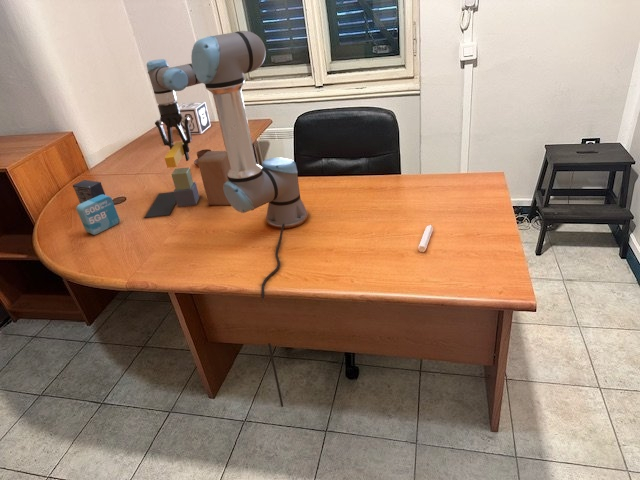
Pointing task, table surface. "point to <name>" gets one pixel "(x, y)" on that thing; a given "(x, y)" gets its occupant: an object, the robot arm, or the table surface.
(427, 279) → the table surface
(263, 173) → the robot arm
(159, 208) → the mat
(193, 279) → the table surface
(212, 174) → the block
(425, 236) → the marker
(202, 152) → the cup and saucer
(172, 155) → the bar
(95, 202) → the data package
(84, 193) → the small box
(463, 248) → the table surface
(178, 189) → the tower
